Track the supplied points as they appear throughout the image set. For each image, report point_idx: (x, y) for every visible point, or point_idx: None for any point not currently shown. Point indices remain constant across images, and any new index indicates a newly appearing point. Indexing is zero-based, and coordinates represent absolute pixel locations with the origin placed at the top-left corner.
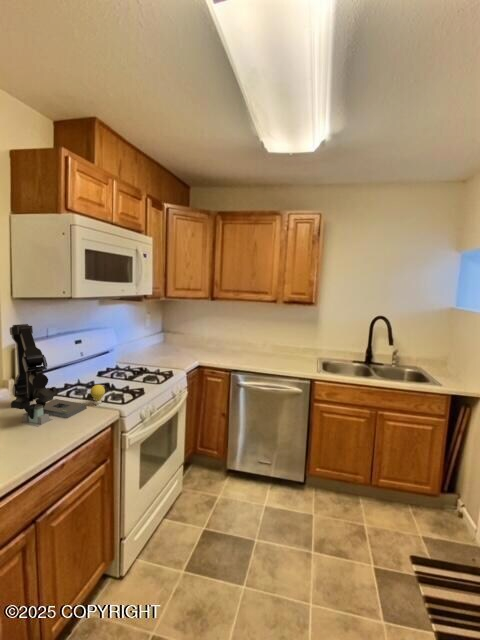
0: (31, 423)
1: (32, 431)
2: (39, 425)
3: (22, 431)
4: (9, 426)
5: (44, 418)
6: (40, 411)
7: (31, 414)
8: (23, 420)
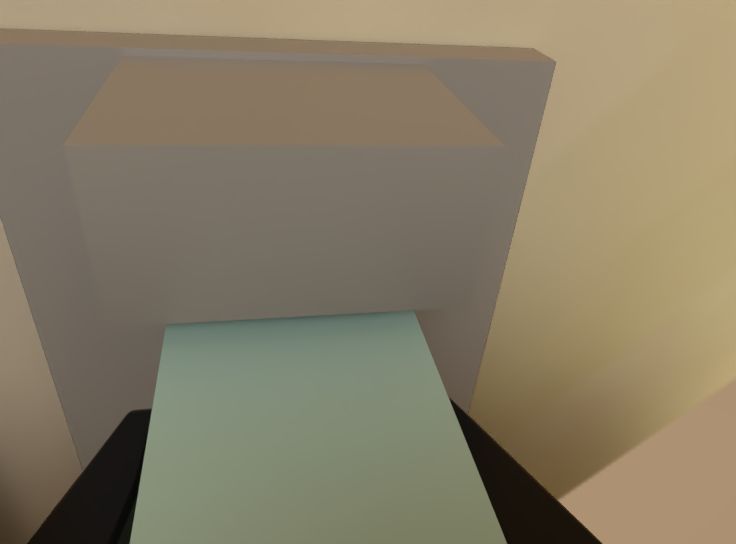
0: (424, 321)
1: (691, 39)
2: (484, 74)
3: (683, 227)
4: None
5: (327, 111)
6: (312, 467)
7: (548, 497)
8: None
